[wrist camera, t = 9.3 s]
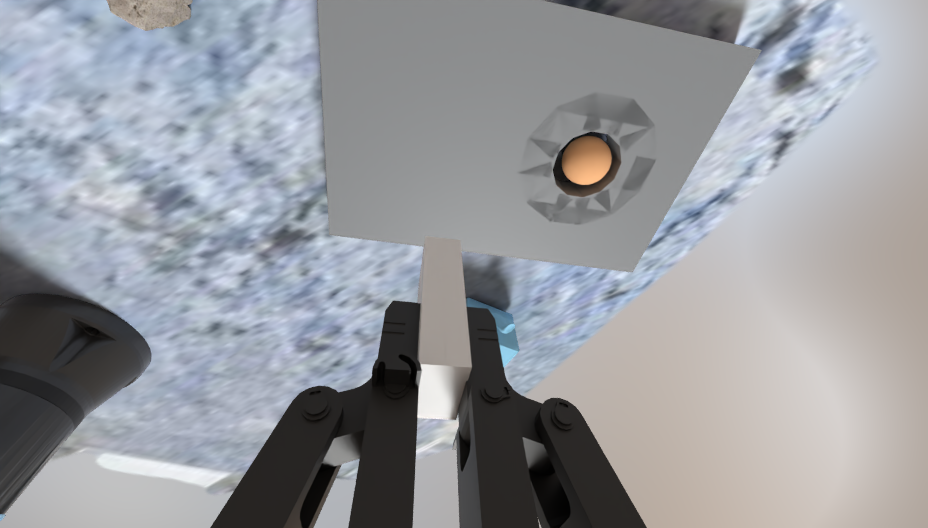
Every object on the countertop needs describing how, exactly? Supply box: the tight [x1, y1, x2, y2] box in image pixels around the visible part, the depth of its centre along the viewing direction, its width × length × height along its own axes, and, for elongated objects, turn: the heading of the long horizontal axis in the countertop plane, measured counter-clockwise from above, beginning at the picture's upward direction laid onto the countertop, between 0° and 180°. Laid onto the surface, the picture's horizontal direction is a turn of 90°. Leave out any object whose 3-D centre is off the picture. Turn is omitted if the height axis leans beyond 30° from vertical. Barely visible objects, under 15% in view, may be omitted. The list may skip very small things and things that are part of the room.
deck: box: [317, 0, 762, 272], centre depth 30 cm, size 30×20×3 cm, turn 80°
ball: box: [562, 136, 612, 185], centre depth 31 cm, size 4×4×4 cm
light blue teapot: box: [466, 298, 519, 367], centre depth 41 cm, size 12×6×8 cm, turn 151°
